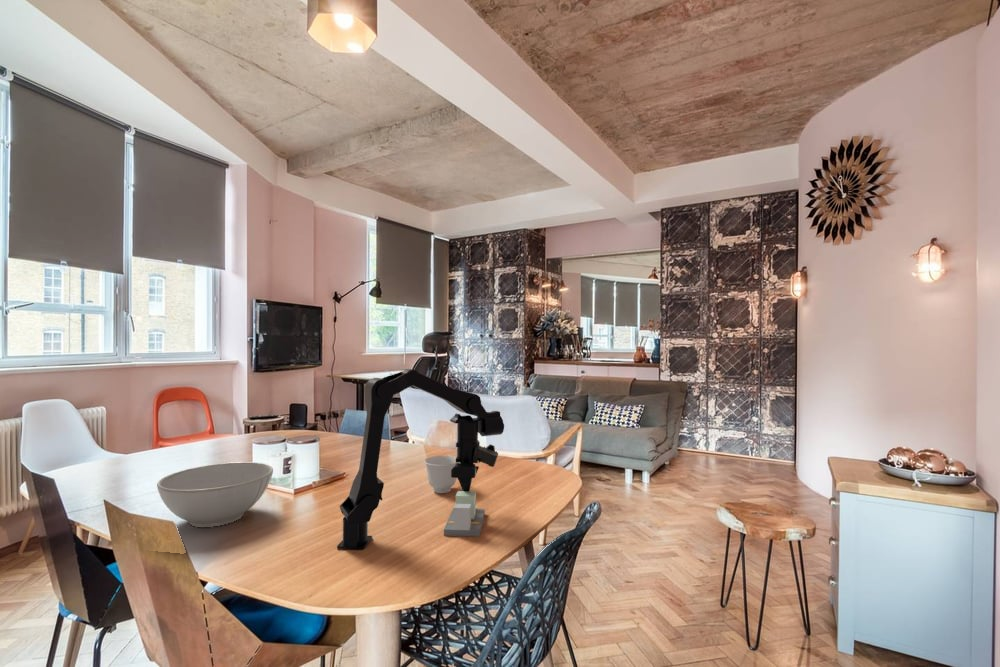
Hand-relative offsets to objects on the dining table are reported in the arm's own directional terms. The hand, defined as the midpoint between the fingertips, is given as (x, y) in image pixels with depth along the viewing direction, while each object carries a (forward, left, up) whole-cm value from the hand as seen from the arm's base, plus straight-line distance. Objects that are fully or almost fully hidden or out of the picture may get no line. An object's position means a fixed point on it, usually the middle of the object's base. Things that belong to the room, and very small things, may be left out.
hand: (466, 494), depth 123 cm
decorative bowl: (-4, +68, -7) cm, 69 cm away
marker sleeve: (-3, 0, -5) cm, 6 cm away
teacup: (+25, +11, -7) cm, 28 cm away
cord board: (-3, 0, -7) cm, 7 cm away
